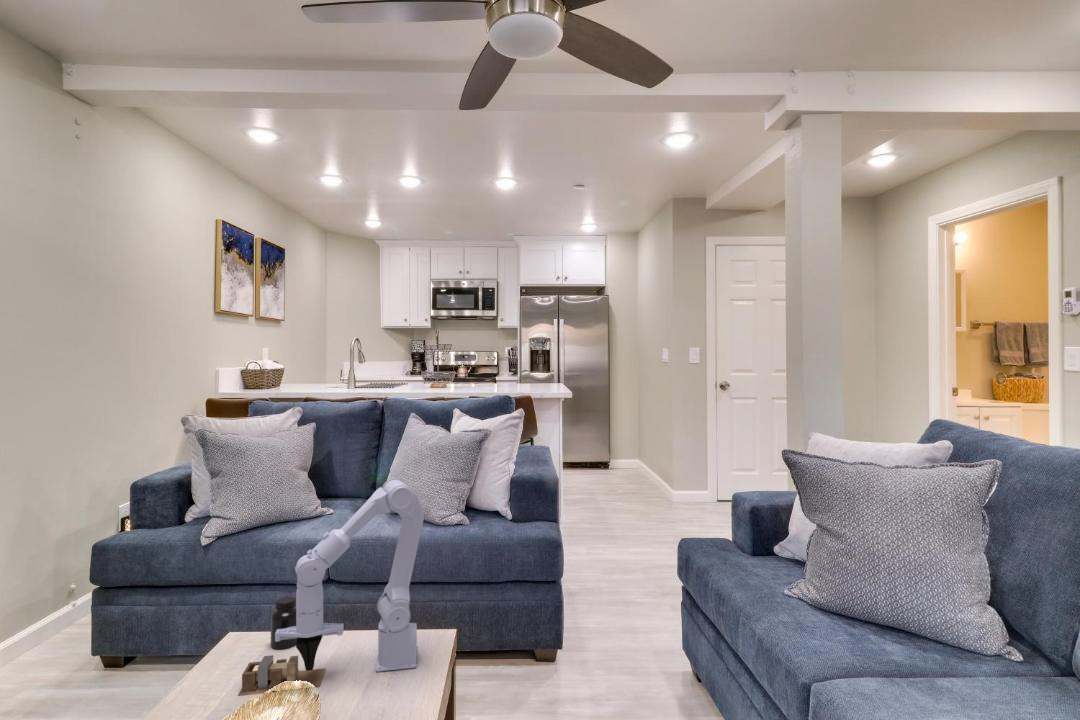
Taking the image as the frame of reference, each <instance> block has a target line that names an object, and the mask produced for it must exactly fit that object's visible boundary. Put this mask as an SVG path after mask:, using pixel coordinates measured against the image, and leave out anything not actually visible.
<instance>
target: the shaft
mask: <svg viewBox="0 0 1080 720" xmlns="http://www.w3.org/2000/svg"><path fill="white" fill-rule="evenodd" d="M258 666H259V665H255V667H254V669H253V671H256V681H258ZM281 668H282V679H283V678H287V681H296V678H297V676H298V671H299V655H291V656H290V657H289V659H288V661H287V662H284V663H276V662H275V663H274V662H273V664H270V666H269V680H271V671H272V669H281Z"/></svg>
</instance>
